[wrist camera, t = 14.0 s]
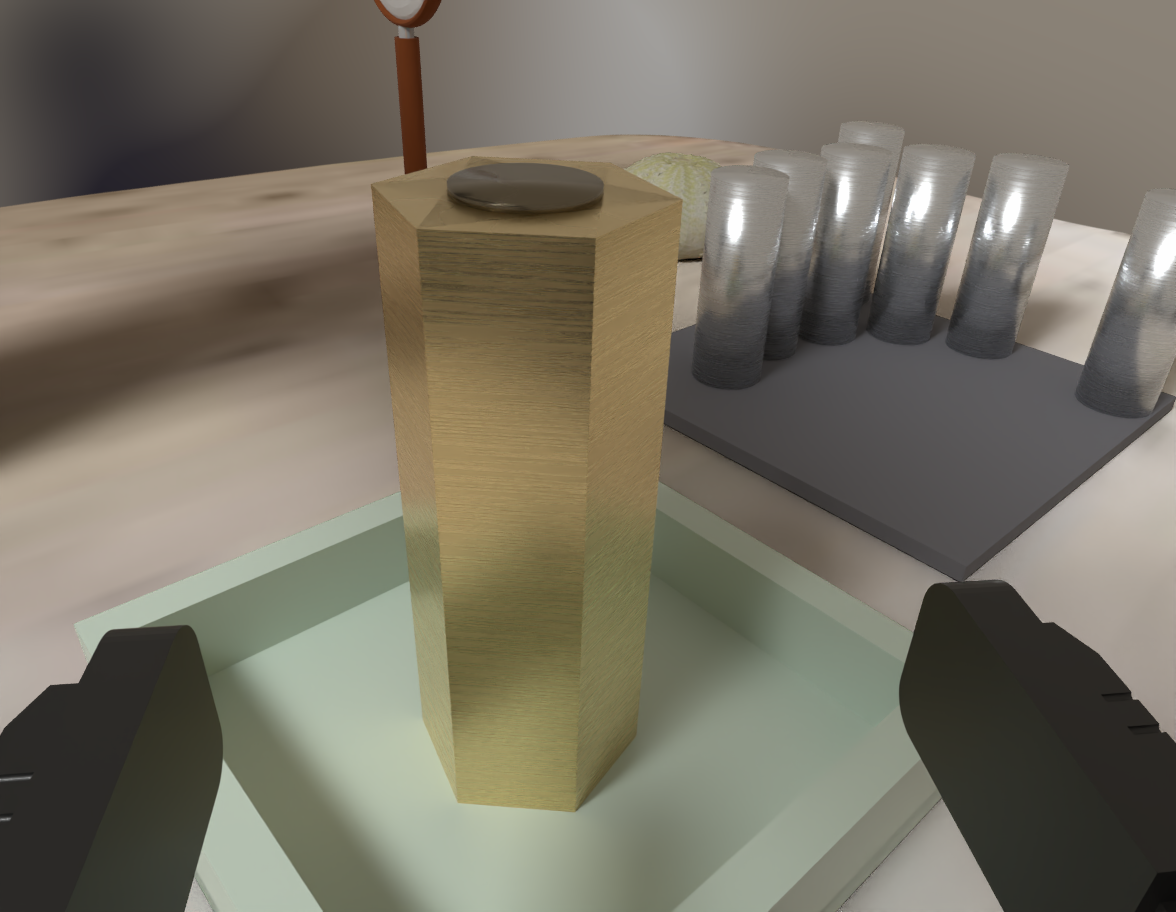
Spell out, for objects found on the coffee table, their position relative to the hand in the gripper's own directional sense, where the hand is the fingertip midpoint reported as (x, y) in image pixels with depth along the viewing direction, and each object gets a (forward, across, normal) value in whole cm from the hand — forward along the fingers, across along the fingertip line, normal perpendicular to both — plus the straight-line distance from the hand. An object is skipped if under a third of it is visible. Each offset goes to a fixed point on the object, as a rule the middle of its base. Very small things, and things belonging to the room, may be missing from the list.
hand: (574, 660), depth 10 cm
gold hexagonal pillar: (+7, 0, +9) cm, 11 cm away
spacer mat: (+24, -15, +9) cm, 29 cm away
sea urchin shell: (+44, -11, +10) cm, 46 cm away
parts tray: (+7, 0, +9) cm, 12 cm away
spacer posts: (+24, -16, +9) cm, 30 cm away
